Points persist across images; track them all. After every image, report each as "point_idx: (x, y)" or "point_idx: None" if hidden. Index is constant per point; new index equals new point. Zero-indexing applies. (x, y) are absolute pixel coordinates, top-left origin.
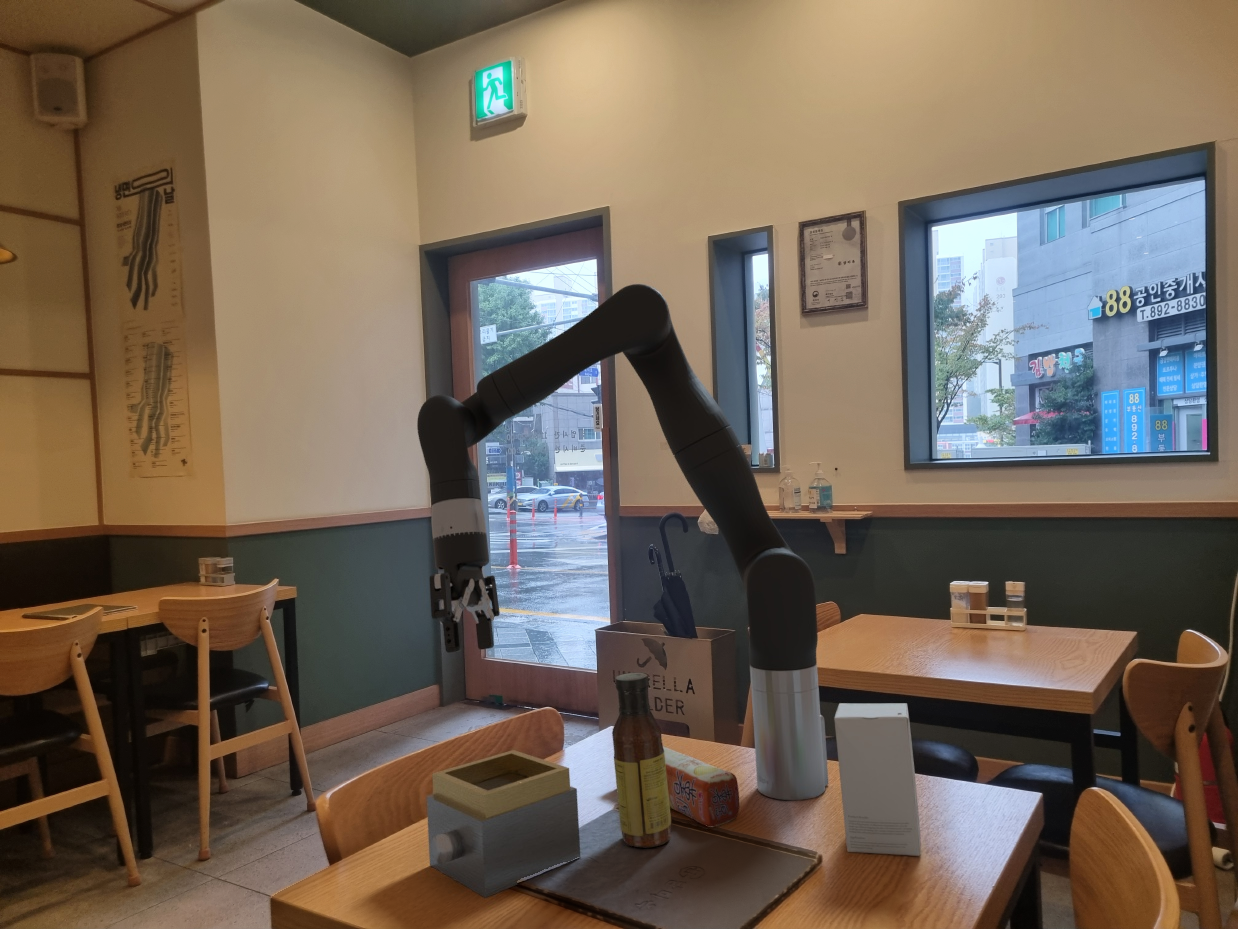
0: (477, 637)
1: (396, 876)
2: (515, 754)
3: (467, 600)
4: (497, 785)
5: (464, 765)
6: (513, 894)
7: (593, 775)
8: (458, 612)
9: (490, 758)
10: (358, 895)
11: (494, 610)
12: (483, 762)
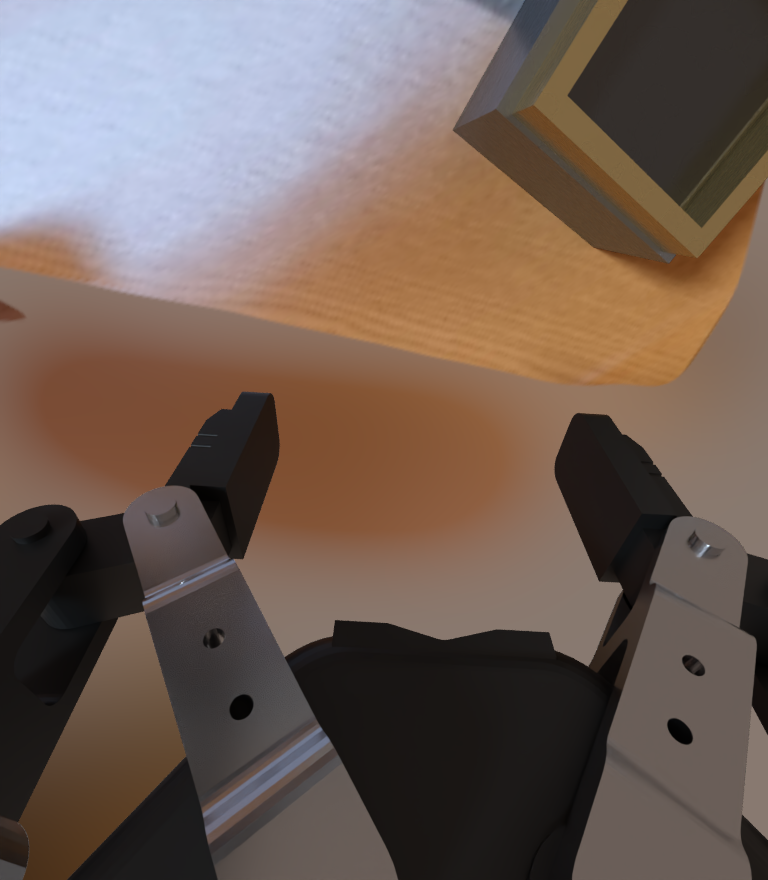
0: (264, 494)
1: (624, 282)
2: (579, 72)
3: (654, 647)
4: (646, 98)
5: (654, 201)
6: None
7: (60, 75)
8: (703, 573)
9: (607, 148)
10: (676, 302)
11: (66, 552)
12: (630, 158)
